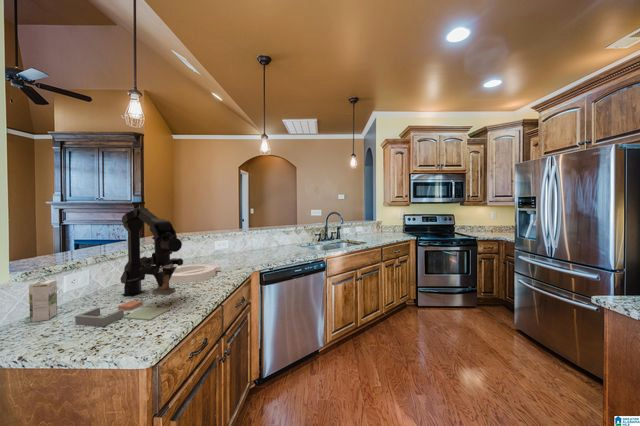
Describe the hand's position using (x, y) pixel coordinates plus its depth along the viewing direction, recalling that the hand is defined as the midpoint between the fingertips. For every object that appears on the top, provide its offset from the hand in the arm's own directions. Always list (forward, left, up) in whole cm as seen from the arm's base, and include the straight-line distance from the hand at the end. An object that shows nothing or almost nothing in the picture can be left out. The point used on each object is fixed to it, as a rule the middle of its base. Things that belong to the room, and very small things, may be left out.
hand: (163, 285), depth 117 cm
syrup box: (+20, -36, -9) cm, 42 cm away
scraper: (0, 0, -4) cm, 4 cm away
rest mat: (+10, +1, -8) cm, 13 cm away
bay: (+18, -12, -8) cm, 23 cm away
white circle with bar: (-42, -18, -9) cm, 47 cm away
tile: (+5, -12, -9) cm, 16 cm away
